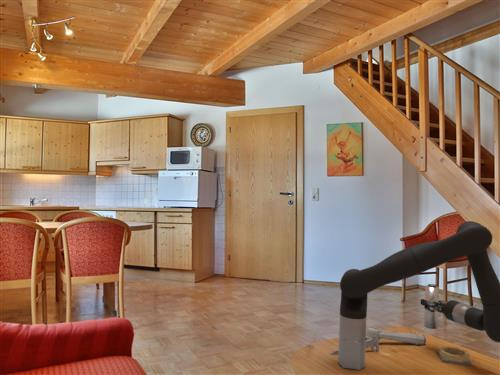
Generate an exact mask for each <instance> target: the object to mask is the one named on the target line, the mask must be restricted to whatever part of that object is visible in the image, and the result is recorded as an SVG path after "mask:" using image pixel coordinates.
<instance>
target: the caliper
mask: <svg viewBox="0 0 500 375" xmlns="http://www.w3.org/2000/svg"><path fill="white" fill-rule="evenodd" d="M374 344H375V346H374ZM369 347H370V349H371V351H372V352H375V350H376V351H377V352H380V340H379V341H378V338H376V336H375V335H374V337H373V336H372V339H369V340H366V347H365V349H368V348H369ZM329 354H330V355H331V356H332V355H334V354H335V355H339V348H337V349H334V350H332V352H330V353H329Z"/></svg>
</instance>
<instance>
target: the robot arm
mask: <svg viewBox="0 0 500 375" xmlns="http://www.w3.org/2000/svg"><path fill="white" fill-rule="evenodd" d="M492 234H493V233H492V232H491V231H490V230H489V228H487V227H486V226H484V225H482V224H481V223H479V222H476V221H472V220H471V221H470V220H469V221H465V222H462V223H460V225H459V226H457V228H456V233H455V234H452V235H450V236H447V237H445V238H443V239H440V240H434V241H429V242H428V241H427V242H423V243H418V244H415V245H411V246H408V247H406V248H404V249H401V250H399V251H396V252H394V253H393V254H391V255H389V256H388V257H386V258H384V259H383V260H381V261H380V262H378V263H376V264H374V265H372V266H370V267H367V268H363V269H357V268H351V269H348V270H346V271H345V272H344V273H343V274H342V277H341V278H340V282H339V288H340V291H341V292H340V303H339V304H340V305H339V326H338V327H339V328H338V333H339V334H338V349H339V354H338V357H337V358H338V359H337V360H338V361H337V363H338V364H339V365H340V366H341V368H342V369H343V368H344V369H351V370H357V371H361V369H363V368H365V366H366V348H365V347H366V334H367V317H368V316H367V312H368V295H369V293H371V292H373V291H374V290H377V289H379V288H381V287H384V286H386V285H390V284H392V283H396V282H399V281H403V280H406V279H408V278H411V277H412V278H413V277H414V276H417V275H419V274H422V273H425V272H427V271H429V270H432V269H434V268H437V267H439V266H441V265H444V264H446V263H448V262H451V261H454V260H457V259H460V258H464V257H466V259H467V261H468V263H469V266H470V269H471V272H472V275H473V279H474V281H475V284H476V288H477V292H478V295H479V298H480V302H481V304H482V309H480V308H477V307H475V306H472V305H470V304H467V303H464V302H460V301H457V300H453V299H451V300H440V299H439V302H436V301H434V302H430V301H427V300H425V298H424V299H423V298H422V299H421V298H420V305H421V306H424V307H423V308H424V310H425V309H427V310H429V311H431V312H434V311H437V312H438V314H439V313H440V314H444V317H445V318H446V319H447V320H448V321H452V322H454V323H457V324H458V325H462V326H464V327H469V328H472V329H474V330H477V331H480V332H481V331H482V332H485V333H486V335H487V337H488V338H489V339H490V340H491V341H493V342H496V343H500V280H499V278H498V275H497V274H496V272H495V269H494V268H493V265H492V262H491V259H490V258H489V255H488V251H487V249H488V248H489V247H490V246H491V244H492V243H493V235H492ZM430 303H431V304H430Z"/></svg>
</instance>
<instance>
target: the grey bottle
mask: <svg viewBox="0 0 500 375" xmlns="http://www.w3.org/2000/svg"><path fill="white" fill-rule="evenodd" d="M424 287H425V288H424V290H425V292H424V296H425V297H424V300H427V301H430V302H434V301H436V302H439V300H440V299H439V298H440V287H439V286H438V285H436V284H433V283H428V284H427V285H425V286H424ZM430 304H431V303H430ZM423 314H424V316H423V319H424V320H423V327H424V328H425V329H431V330H437V329H438V326H439V312H437V311H434V312H431V311H429V310H427V309H425V308H424V313H423Z"/></svg>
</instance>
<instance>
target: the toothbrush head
mask: <svg viewBox="0 0 500 375" xmlns="http://www.w3.org/2000/svg"><path fill="white" fill-rule="evenodd" d="M374 335H375V336H376V338H378V341H379V342H380V341H381V339H382V340H387V341H388V340H389V341H394V342H400V343H407V344H413V345H415V346H416V345H419V346H421V345H422V346H425V345H426V342H427V338H426V336H425V335H424V334H420V333H419V334H418V333H417V332H415V333H410V332H409V333H408V332H401V331H400V332H397V331H390V330H389V331H388V330H387V331H386V330H377V329H376V328H373V327H372V328H371V327H369V328H368V329H366V340H369V339H372V336H373V337H374ZM374 347H376V346H375V344H374Z"/></svg>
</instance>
